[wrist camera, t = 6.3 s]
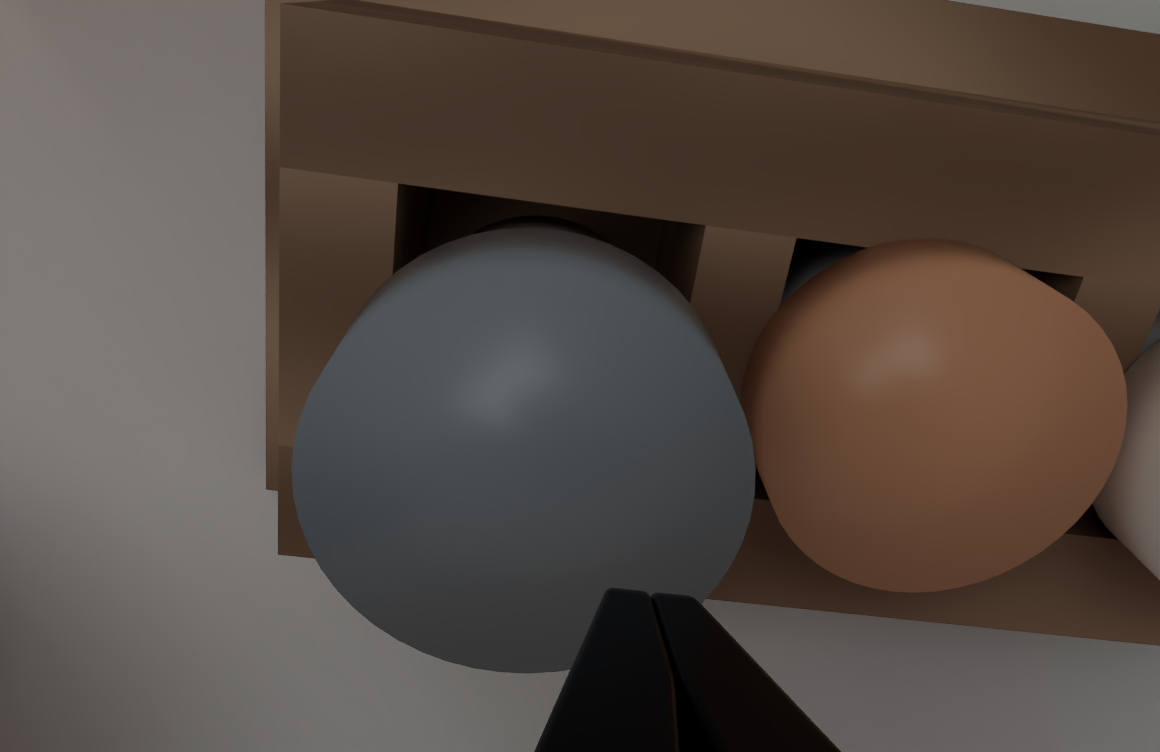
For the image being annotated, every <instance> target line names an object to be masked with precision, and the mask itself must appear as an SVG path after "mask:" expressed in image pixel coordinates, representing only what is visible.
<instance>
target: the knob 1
mask: <svg viewBox="0 0 1160 752" xmlns="http://www.w3.org/2000/svg"><path fill="white" fill-rule="evenodd" d="M291 471H292V486H293V497H294V501H295V506H296V510H297V515H298V520H299V523H300V525H301V528H302V531H303V533H304V536H305V539H306V541H307V544H308V546H309V548H310V550H311V551H312V553H313V555H314V557H315V559H316V561H317V562H318V564H319V566H320V568H321V569H322V571H323V572H324V573H325V575H326V576H327V577H328V579H329V580H330V581H331V583H332V584H333V586H334V587H335V588H336V590H337V591H338V592H339V593H340V594H341V595H342V596H343V597H344V598H345V599H346V600H347V601H348V602H349V603H350V604H351V605H352V606H353V607H354V608H355V609H356V610H357V611H358V612H359V613H361V614H362V615H363V616H364V617H366V618H367V619H368V620H369V621H370V622H372V623H373V624H374V625H375V626H377V627H378V628H380V629H382V630H383V631H385V632H386V633H388V634H389V635H391V636H392V637H394V638H396V639H397V640H399V641H401V642H403V643H405V644H407V645H409V646H411V647H413V648H415V649H417V650H419V651H421V652H423V653H426V654H429V655H432V656H434V657H437V658H440V659H442V660H445V661H448V662H452V663H456V664H460V665H464V666H468V667H472V668H477V669H484V670H490V671H497V672H511V673H542V672H557V671H563V670H569V669H571V667H572V665H573V663H574V661H575V658H576V656H577V654H578V652H579V649H580V647H581V645H582V643H583V640H584V638H585V636H586V633H587V631H588V629H589V627H590V624H591V622H592V620H593V618H594V615H595V613H596V611H597V609H598V606H599V604H600V602H601V599H602V597H603V595H604V593H605V591H606V590H607V589H609V588H622V589H631V590H640V591H645V592H647V593H648V594H649V596H651V595H652V594H654V593H657V592H660V593H669V594H679V595H688V596H692V597H694V598H695V599H696V600H698V601H699V602H700V603H702V602H703V601H704V600H705V599H706V598H707V597H708V596H709V594H710V593H711V592H712V591H713V590H714V589H715V588H716V586H717V585H718V584H719V582H720V581H721V579H722V578H723V576H724V575H725V573H726V572H727V571H728V569H729V568H730V566H731V564H732V562H733V560H734V558H735V556H736V554H737V552H738V550H739V548H740V546H741V544H742V542H743V539H744V536H745V533H746V530H747V527H748V524H749V521H750V517H751V512H752V506H753V501H754V496H755V471H756V467H755V459H754V451H753V443H752V439H751V435H750V431H749V428H748V424H747V421H746V417H745V414H744V412H743V410H742V407H741V405H740V403H739V400H738V398H737V396H736V393H735V391H734V389H733V386H732V384H731V382H730V379H729V377H728V375H727V372H726V370H725V368H724V365H723V363H722V361H721V359H720V356H719V354H718V352H717V349H716V347H715V345H714V343H713V340H712V338H711V336H710V334H709V332H708V330H707V328H706V326H705V325H704V323H703V322H702V320H701V319H700V317H699V315H698V314H697V312H696V311H695V309H694V308H693V307H692V305H691V304H690V303H689V302H688V301H687V300H686V298H685V297H684V296H683V295H682V294H681V293H680V291H679V290H678V289H677V288H676V287H675V286H673V285H672V284H671V283H670V282H669V281H668V280H667V279H666V278H664V277H663V276H662V275H661V274H660V273H659V272H658V271H656V270H655V269H653V268H652V267H650V266H649V265H647V264H646V263H644V262H643V261H641V260H640V259H638V258H637V257H635V256H633V255H631V254H629V253H627V252H625V251H623V250H621V249H619V248H617V247H615V246H614V245H613V244H612V243H611V242H609V241H608V240H607V239H606V238H604V237H603V236H601V235H600V234H598V233H597V232H595V231H593V230H591V229H589V228H587V227H585V226H583V225H581V224H578V223H575V222H572V221H569V220H566V219H561V218H556V217H551V216H538V215H533V216H519V217H513V218H508V219H504V220H501V221H498V222H495V223H492V224H489V225H487V226H485V227H483V228H481V229H479V230H477V231H475V232H474V233H472V234H471V235H469V236H466V237H463V238H460V239H457V240H454V241H451V242H448V243H445V244H443V245H441V246H439V247H437V248H435V249H432V250H430V251H428V252H426V253H424V254H422V255H420V256H419V257H417V258H416V259H414V260H413V261H411V262H410V263H408V264H407V265H405V266H404V267H402V268H401V269H399V270H398V271H397V272H396V273H394V274H393V275H392V276H391V277H390V278H389V279H388V280H387V281H385V282H384V283H383V284H382V285H381V286H380V287H379V288H378V289H377V290H376V291H375V292H374V294H373V295H372V296H371V297H370V298H369V299H368V301H367V302H366V303H365V304H364V305H363V307H362V308H361V310H360V311H359V313H358V314H357V316H356V318H355V319H354V321H353V322H352V324H351V326H350V327H349V329H348V331H347V332H346V334H345V335H344V337H343V339H342V340H341V342H340V344H339V345H338V347H337V349H336V350H335V352H334V353H333V355H332V357H331V358H330V360H329V362H328V363H327V365H326V366H325V368H324V370H323V371H322V373H321V375H320V376H319V378H318V379H317V381H316V383H315V384H314V386H313V388H312V389H311V391H310V394H309V396H308V398H307V401H306V403H305V406H304V408H303V410H302V413H301V415H300V419H299V423H298V427H297V431H296V435H295V439H294V444H293V456H292V467H291Z"/></svg>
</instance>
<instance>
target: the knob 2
mask: <svg viewBox="0 0 1160 752" xmlns="http://www.w3.org/2000/svg"><path fill="white" fill-rule="evenodd" d="M1124 378H1125V382H1126V390H1127V403H1128V407H1127V420H1126V428H1125V433H1124V437H1123V442H1122V446H1121V449H1120V452H1119V454H1118V457H1117V460H1116V462H1115V465H1114V467H1113V469H1112V471H1111V473H1110V475H1109V477H1108V479H1107V481H1106V483H1105V485H1104V487H1103V488H1102V490H1101V491H1100V492H1099V494H1098V495H1097V497H1096V498H1095V500H1094V501H1093V503H1092V504H1093V506H1094V508H1095V510H1096V512H1097V514H1098V516H1099V518H1100V519H1101V520H1102V522H1103V523H1104V525H1105V526H1106V527H1107V529H1108V530H1109V531H1110V532H1111V533H1112V534H1113V535H1114V536H1115V537H1116V538H1117V539H1118V540H1119V541H1120V542H1121V543H1122V544H1123V545H1124V546H1126V547H1127V548H1128V549H1129V550H1130V551H1131V552H1132V553H1133V554H1134V555H1135V556H1136V557H1137V558H1138V559H1139V560H1140V561H1141V562H1142V563H1143V564H1144V565H1145V566H1146V567H1147V568H1148V569H1149V570H1150V571H1151V572H1152V573H1153V574H1154V575H1155V576H1156V577H1157V578H1158V579H1159V580H1160V309H1159V312H1158V314H1157V316H1156V319H1155V321H1154V323H1153V326H1152V328H1151V330H1150V332H1149V335H1148V337H1147V339H1146V342H1145V344H1144V346H1143V349H1142V351H1141V353H1140V356H1139V358H1138V359H1137V360H1136V361H1135V362H1134V363H1133V364H1132V365H1131V367H1130V368H1129V369H1128V370H1127V371H1126V373H1125V374H1124Z"/></svg>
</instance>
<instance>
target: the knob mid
mask: <svg viewBox="0 0 1160 752" xmlns="http://www.w3.org/2000/svg"><path fill="white" fill-rule="evenodd" d="M741 407H742V410H743V412H744V414H745V417H746V421H747V424H748V428H749V431H750V435H751V439H752V443H753V451H754V459H755V465H756V467H757V470H758V472H759V475H760V477H761V479H762V482H763V484H764V487H765V489H766V492H767V494H768V497H769V499H770V501H771V504H772V506H773V508H774V511H775V513H776V515H777V517H778V519H779V522H780V524H781V525H782V527H783V528H784V530H785V531H786V533H787V534H788V536H789V537H790V539H791V540H792V541H793V542H794V543H795V544H796V545H797V546H798V547H799V548H800V550H801V551H802V552H803V553H804V554H806V555H807V556H808V557H809V558H811V559H812V560H813V561H814V562H815V563H817V564H818V565H819V566H821V567H823V568H824V569H826V570H828V571H829V572H831V573H833V574H834V575H837V576H839V577H841V578H843V579H846V580H848V581H850V582H853V583H856V584H860V585H863V586H866V587H870V588H874V589H880V590H886V591H892V592H910V593H918V592H935V591H942V590H948V589H954V588H960V587H963V586H967V585H971V584H975V583H978V582H981V581H984V580H987V579H989V578H992V577H995V576H997V575H1000V574H1002V573H1004V572H1006V571H1008V570H1010V569H1012V568H1014V567H1017V566H1019V565H1021V564H1022V563H1024V562H1026V561H1027V560H1029V559H1030V558H1032V557H1034V556H1035V555H1037V554H1039V553H1040V552H1042V551H1043V550H1044V549H1046V548H1047V547H1048V546H1050V545H1051V544H1052V543H1053V542H1055V541H1056V540H1057V539H1059V538H1060V537H1061V536H1062V535H1063V534H1064V533H1065V532H1066V531H1067V530H1068V529H1069V528H1071V527H1072V526H1073V525H1074V524H1075V523H1076V522H1077V521H1078V519H1079V518H1080V517H1081V516H1082V515H1083V514H1084V512H1085V511H1086V510H1087V509H1088V508H1089V507H1090V506H1091V504H1092V503H1093V501H1094V500H1095V498H1096V497H1097V495H1098V494H1099V492H1100V491H1101V490H1102V488H1103V487H1104V485H1105V483H1106V481H1107V479H1108V477H1109V475H1110V473H1111V471H1112V469H1113V467H1114V465H1115V462H1116V460H1117V457H1118V454H1119V452H1120V449H1121V446H1122V442H1123V437H1124V433H1125V428H1126V420H1127V407H1128V403H1127V390H1126V382H1125V378H1124V374H1123V369H1122V365H1121V363H1120V360H1119V358H1118V356H1117V353H1116V351H1115V349H1114V346H1113V344H1112V343H1111V341H1110V340H1109V338H1108V337H1107V335H1106V334H1105V332H1104V331H1103V329H1102V328H1101V327H1100V326H1099V324H1098V323H1097V322H1096V321H1095V320H1094V319H1093V318H1092V317H1091V316H1090V315H1089V314H1088V313H1087V312H1086V311H1085V310H1084V309H1082V308H1081V307H1080V306H1078V305H1077V304H1076V303H1074V302H1073V301H1072V300H1071V299H1069V298H1067V297H1066V296H1064V295H1063V294H1061V293H1059V292H1058V291H1056V290H1054V289H1053V288H1051V287H1050V286H1048V285H1046V284H1045V283H1043V282H1041V281H1040V280H1038V279H1037V278H1035V277H1033V276H1032V275H1030V274H1028V273H1027V272H1025V271H1024V270H1022V269H1020V268H1019V267H1017V266H1015V265H1014V264H1012V263H1011V262H1009V261H1007V260H1005V259H1004V258H1002V257H1000V256H998V255H996V254H994V253H993V252H991V251H988V250H986V249H983V248H980V247H977V246H975V245H972V244H968V243H963V242H958V241H954V240H948V239H934V238H920V239H905V240H899V241H894V242H888V243H883V244H880V245H876V246H873V247H870V248H867V247H860V246H853V245H845V244H838V243H831V242H824V241H816V240H809V239H802V238H800V239H798V240H797V241H796V242H795V246H794V250H793V254H792V258H791V262H790V266H789V270H788V274H787V278H786V282H785V286H784V291H783V295H782V299H781V303H780V307H779V309H778V310H777V312H776V313H775V314H774V315H773V317H772V318H771V319H770V321H769V322H768V324H767V326H766V327H765V329H764V330H763V332H762V334H761V335H760V337H759V339H758V341H757V343H756V345H755V348H754V350H753V352H752V354H751V357H750V360H749V363H748V366H747V369H746V373H745V377H744V383H743V389H742V404H741Z"/></svg>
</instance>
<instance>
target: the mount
mask: <svg viewBox="0 0 1160 752" xmlns="http://www.w3.org/2000/svg"><path fill="white" fill-rule="evenodd" d="M265 200H266V489H267V490H276V491H278V555H287V556H297V557H307V558H315V557H314V555H313V553H312V551H311V550H310V548H309V546H308V544H307V541H306V539H305V536H304V533H303V531H302V528H301V525H300V523H299V520H298V515H297V510H296V506H295V501H294V497H293V486H292V471H291V467H292V456H293V444H294V439H295V435H296V431H297V427H298V423H299V419H300V415H301V413H302V410H303V408H304V406H305V403H306V401H307V398H308V396H309V394H310V391H311V389H312V388H313V386H314V384H315V383H316V381H317V379H318V378H319V376H320V375H321V373H322V371H323V370H324V368H325V366H326V365H327V363H328V362H329V360H330V358H331V357H332V355H333V353H334V352H335V350H336V349H337V347H338V345H339V344H340V342H341V340H342V339H343V337H344V335H345V334H346V332H347V331H348V329H349V327H350V326H351V324H352V322H353V321H354V319H355V318H356V316H357V314H358V313H359V311H360V310H361V308H362V307H363V305H364V304H365V303H366V302H367V301H368V299H369V298H370V297H371V296H372V295H373V294H374V292H375V291H376V290H377V289H378V288H379V287H380V286H381V285H382V284H383V283H384V282H385V281H387V280H388V279H389V278H390V277H391V276H392V275H393V274H394V273H396V272H397V271H398V270H399V269H401V268H402V267H404V266H405V265H407V264H408V263H410V262H411V261H413V260H414V259H416V258H417V257H419V256H420V255H422V254H424V253H426V252H428V251H430V250H432V249H435V248H437V247H439V246H441V245H443V244H445V243H448V242H451V241H454V240H457V239H460V238H463V237H466V236H469V235H471V234H472V233H474V232H475V231H477V230H479V229H481V228H483V227H485V226H487V225H489V224H492V223H495V222H498V221H501V220H504V219H508V218H513V217H519V216H533V215H538V216H551V217H556V218H561V219H566V220H569V221H572V222H575V223H578V224H581V225H583V226H585V227H587V228H589V229H591V230H593V231H595V232H597V233H598V234H600V235H601V236H603V237H604V238H606V239H607V240H608V241H609V242H611V243H612V244H613V245H614V246H615V247H617V248H619V249H621V250H623V251H625V252H627V253H629V254H631V255H633V256H635V257H637V258H638V259H640V260H641V261H643V262H644V263H646V264H647V265H649V266H650V267H652V268H653V269H655V270H656V271H658V272H659V273H660V274H661V275H662V276H663V277H664V278H666V279H667V280H668V281H669V282H670V283H671V284H672V285H673V286H675V287H676V288H677V289H678V290H679V291H680V293H681V294H682V295H683V296H684V297H685V298H686V300H687V301H688V302H689V303H690V304H691V305H692V307H693V308H694V309H695V311H696V312H697V314H698V315H699V317H700V319H701V320H702V322H703V323H704V325H705V326H706V328H707V330H708V332H709V334H710V336H711V338H712V340H713V343H714V345H715V347H716V349H717V352H718V354H719V356H720V359H721V361H722V363H723V365H724V368H725V370H726V372H727V375H728V377H729V379H730V382H731V384H732V386H733V389H734V391H735V393H736V396H737V398H738V400H739V403H740V405H741V404H742V389H743V383H744V377H745V373H746V369H747V366H748V363H749V360H750V357H751V354H752V352H753V350H754V348H755V345H756V343H757V341H758V339H759V337H760V335H761V334H762V332H763V330H764V329H765V327H766V326H767V324H768V322H769V321H770V319H771V318H772V317H773V315H774V314H775V313H776V312H777V310H778V309H779V307H780V303H781V299H782V295H783V291H784V286H785V282H786V278H787V274H788V270H789V266H790V262H791V258H792V254H793V250H794V246H795V242H796V241H797V240H798V239H800V238H802V239H809V240H816V241H824V242H831V243H838V244H845V245H853V246H860V247H867V248H870V247H873V246H876V245H880V244H883V243H888V242H894V241H899V240H905V239H920V238H934V239H948V240H954V241H958V242H963V243H968V244H972V245H975V246H977V247H980V248H983V249H986V250H988V251H991V252H993V253H994V254H996V255H998V256H1000V257H1002V258H1004V259H1005V260H1007V261H1009V262H1011V263H1012V264H1014V265H1015V266H1017V267H1019V268H1020V269H1022V270H1024V271H1025V272H1027V273H1028V274H1030V275H1032V276H1033V277H1035V278H1037V279H1038V280H1040V281H1041V282H1043V283H1045V284H1046V285H1048V286H1050V287H1051V288H1053V289H1054V290H1056V291H1058V292H1059V293H1061V294H1063V295H1064V296H1066V297H1067V298H1069V299H1071V300H1072V301H1073V302H1074V303H1076V304H1077V305H1078V306H1080V307H1081V308H1082V309H1084V310H1085V311H1086V312H1087V313H1088V314H1089V315H1090V316H1091V317H1092V318H1093V319H1094V320H1095V321H1096V322H1097V323H1098V324H1099V326H1100V327H1101V328H1102V329H1103V331H1104V332H1105V334H1106V335H1107V337H1108V338H1109V340H1110V341H1111V343H1112V344H1113V346H1114V349H1115V351H1116V353H1117V356H1118V358H1119V360H1120V363H1121V365H1122V369H1123V374H1125V373H1126V371H1127V370H1128V369H1129V368H1130V367H1131V365H1132V364H1133V363H1134V362H1135V361H1136V360H1137V359H1138V358H1139V356H1140V353H1141V351H1142V349H1143V346H1144V344H1145V342H1146V339H1147V337H1148V335H1149V332H1150V330H1151V328H1152V326H1153V323H1154V321H1155V319H1156V316H1157V314H1158V312H1159V309H1160V34H1154V33H1147V32H1141V31H1135V30H1129V29H1122V28H1116V27H1110V26H1104V25H1097V24H1091V23H1085V22H1079V21H1072V20H1066V19H1060V18H1054V17H1047V16H1041V15H1035V14H1029V13H1023V12H1016V11H1010V10H1004V9H998V8H991V7H985V6H979V5H973V4H966V3H960V2H954V1H948V0H265ZM755 467H756V465H755ZM706 599H713V600H723V601H733V602H742V603H752V604H762V605H771V606H781V607H791V608H800V609H810V610H820V611H829V612H839V613H849V614H859V615H868V616H878V617H888V618H897V619H907V620H917V621H926V622H936V623H946V624H955V625H965V626H975V627H984V628H994V629H1004V630H1013V631H1023V632H1033V633H1042V634H1052V635H1062V636H1072V637H1081V638H1091V639H1101V640H1110V641H1120V642H1130V643H1139V644H1149V645H1159V646H1160V580H1159V579H1158V578H1157V577H1156V576H1155V575H1154V574H1153V573H1152V572H1151V571H1150V570H1149V569H1148V568H1147V567H1146V566H1145V565H1144V564H1143V563H1142V562H1141V561H1140V560H1139V559H1138V558H1137V557H1136V556H1135V555H1134V554H1133V553H1132V552H1131V551H1130V550H1129V549H1128V548H1127V547H1126V546H1124V545H1123V544H1122V543H1121V542H1120V541H1119V540H1118V539H1117V538H1116V537H1115V536H1114V535H1113V534H1112V533H1111V532H1110V531H1109V530H1108V529H1107V527H1106V526H1105V525H1104V523H1103V522H1102V520H1101V519H1100V518H1099V516H1098V514H1097V512H1096V510H1095V508H1094V506H1093V504H1091V506H1090V507H1089V508H1088V509H1087V510H1086V511H1085V512H1084V514H1083V515H1082V516H1081V517H1080V518H1079V519H1078V521H1077V522H1076V523H1075V524H1074V525H1073V526H1072V527H1071V528H1069V529H1068V530H1067V531H1066V532H1065V533H1064V534H1063V535H1062V536H1061V537H1060V538H1059V539H1057V540H1056V541H1055V542H1053V543H1052V544H1051V545H1050V546H1048V547H1047V548H1046V549H1044V550H1043V551H1042V552H1040V553H1039V554H1037V555H1035V556H1034V557H1032V558H1030V559H1029V560H1027V561H1026V562H1024V563H1022V564H1021V565H1019V566H1017V567H1014V568H1012V569H1010V570H1008V571H1006V572H1004V573H1002V574H1000V575H997V576H995V577H992V578H989V579H987V580H984V581H981V582H978V583H975V584H971V585H967V586H963V587H960V588H954V589H948V590H942V591H935V592H918V593H910V592H892V591H886V590H880V589H874V588H870V587H866V586H863V585H860V584H856V583H853V582H850V581H848V580H846V579H843V578H841V577H839V576H837V575H834V574H833V573H831V572H829V571H828V570H826V569H824V568H823V567H821V566H819V565H818V564H817V563H815V562H814V561H813V560H812V559H811V558H809V557H808V556H807V555H806V554H804V553H803V552H802V551H801V550H800V548H799V547H798V546H797V545H796V544H795V543H794V542H793V541H792V540H791V539H790V537H789V536H788V534H787V533H786V531H785V530H784V528H783V527H782V525H781V524H780V522H779V519H778V517H777V515H776V513H775V511H774V508H773V506H772V504H771V501H770V499H769V497H768V494H767V492H766V489H765V487H764V484H763V482H762V479H761V477H760V475H759V472H758V470H757V467H756V471H755V496H754V501H753V506H752V512H751V517H750V521H749V524H748V527H747V530H746V533H745V536H744V539H743V542H742V544H741V546H740V548H739V550H738V552H737V554H736V556H735V558H734V560H733V562H732V564H731V566H730V568H729V569H728V571H727V572H726V573H725V575H724V576H723V578H722V579H721V581H720V582H719V584H718V585H717V586H716V588H715V589H714V590H713V591H712V592H711V593H710V594H709V596H708V597H707V598H706Z"/></svg>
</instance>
